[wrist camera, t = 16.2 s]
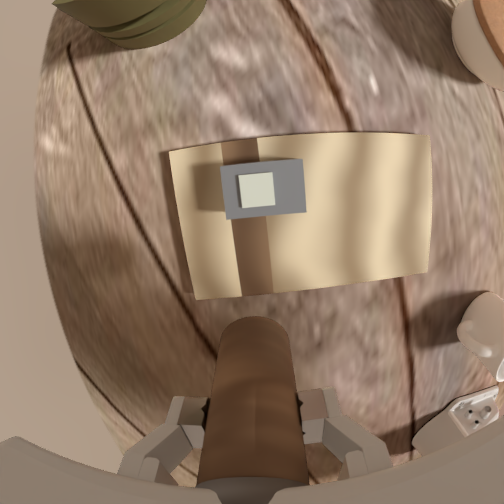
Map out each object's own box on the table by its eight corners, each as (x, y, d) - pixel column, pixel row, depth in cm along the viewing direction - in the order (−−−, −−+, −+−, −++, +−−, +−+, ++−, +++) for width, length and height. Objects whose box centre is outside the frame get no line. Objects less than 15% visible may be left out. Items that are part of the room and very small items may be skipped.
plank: (421, 135, 22) (429, 135, 21) (420, 266, 27) (426, 272, 25) (173, 151, 23) (168, 151, 22) (198, 292, 28) (195, 300, 27)
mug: (431, 343, 30) (467, 393, 21) (453, 288, 28) (502, 332, 18) (482, 337, 31) (517, 375, 21) (502, 290, 28) (544, 323, 18)
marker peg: (288, 312, 14) (320, 501, 5) (291, 366, 15) (311, 527, 6) (213, 318, 14) (173, 502, 5) (225, 371, 15) (206, 529, 6)
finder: (296, 158, 22) (303, 158, 19) (300, 205, 23) (307, 213, 20) (224, 165, 22) (219, 166, 19) (230, 212, 24) (225, 220, 21)
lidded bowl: (434, -9, 15) (482, -41, 5) (502, 45, 16) (553, 33, 6) (430, 62, 19) (496, 37, 9) (501, 117, 20) (564, 119, 10)
